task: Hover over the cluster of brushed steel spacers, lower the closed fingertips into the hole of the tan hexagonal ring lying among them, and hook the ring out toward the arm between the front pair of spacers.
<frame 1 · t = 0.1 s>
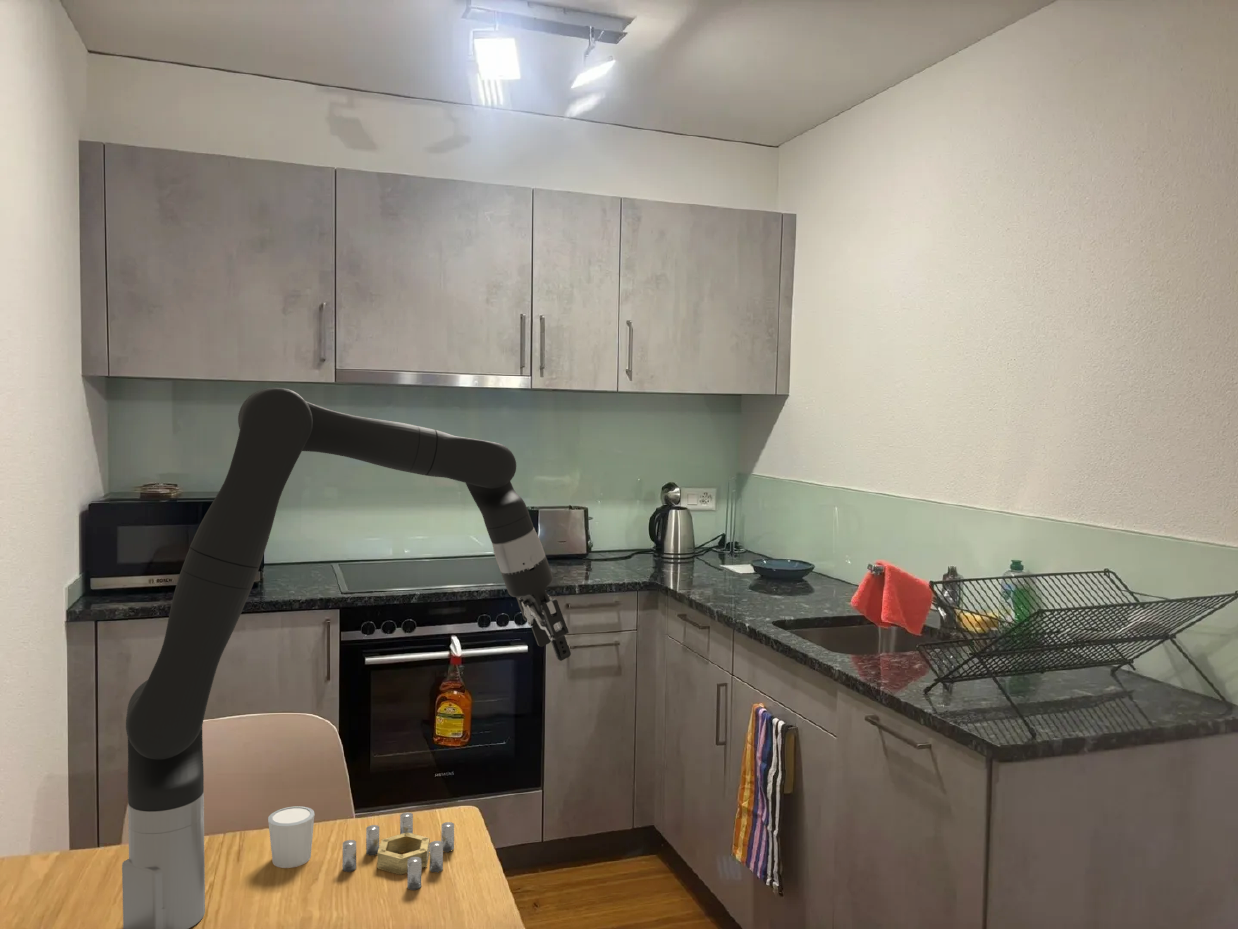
hand: (554, 651, 148), 31 cm above the table, tool tilted 20°, fingers open, 8 cm apart
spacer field: (403, 860, 142), on the table
tan hexagonal ring: (403, 860, 142), on the table
white cup: (291, 860, 142), on the table
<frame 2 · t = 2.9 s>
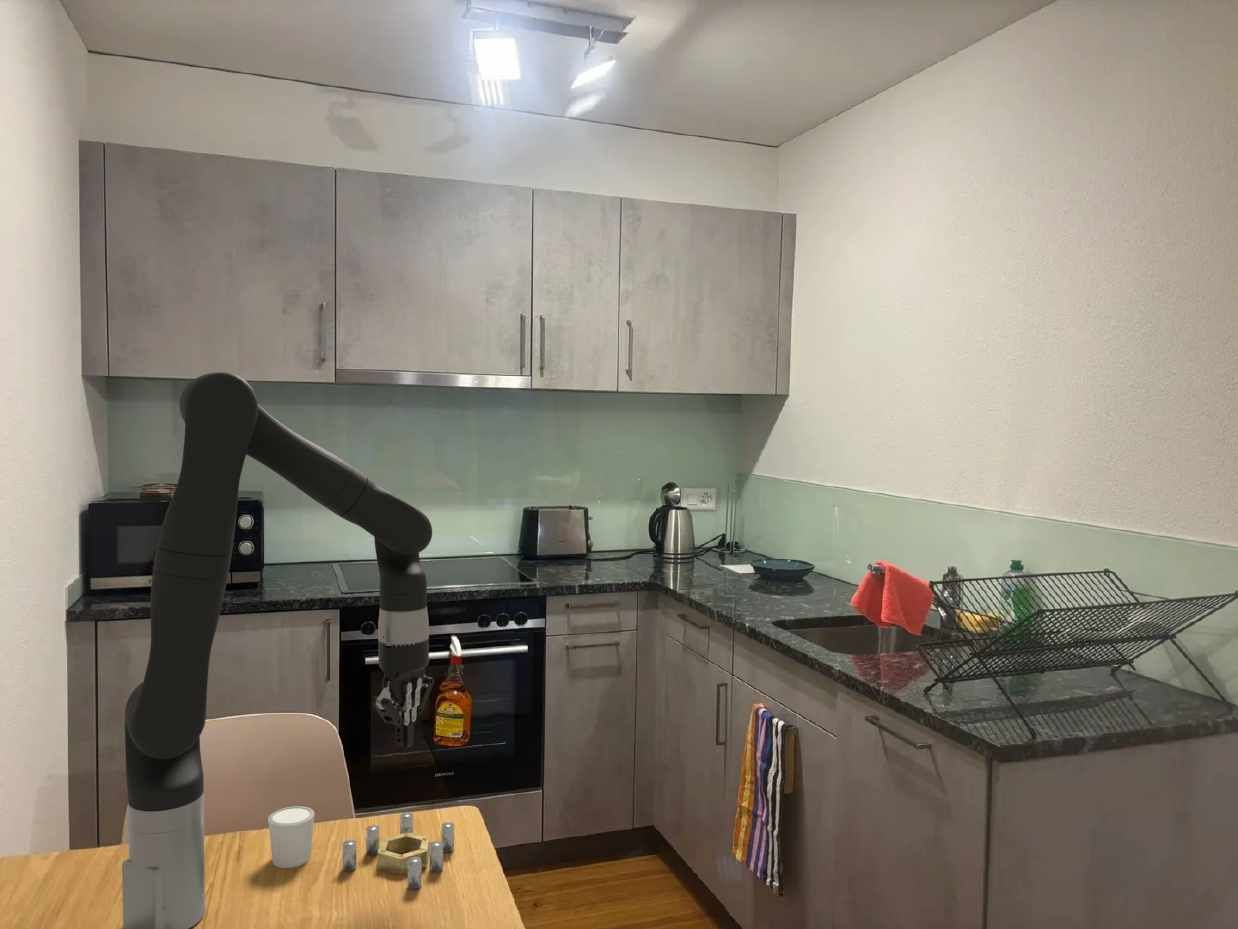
hand: (404, 746, 141), 18 cm above the table, tool pointing down, fingers closed
nothing on the table moved.
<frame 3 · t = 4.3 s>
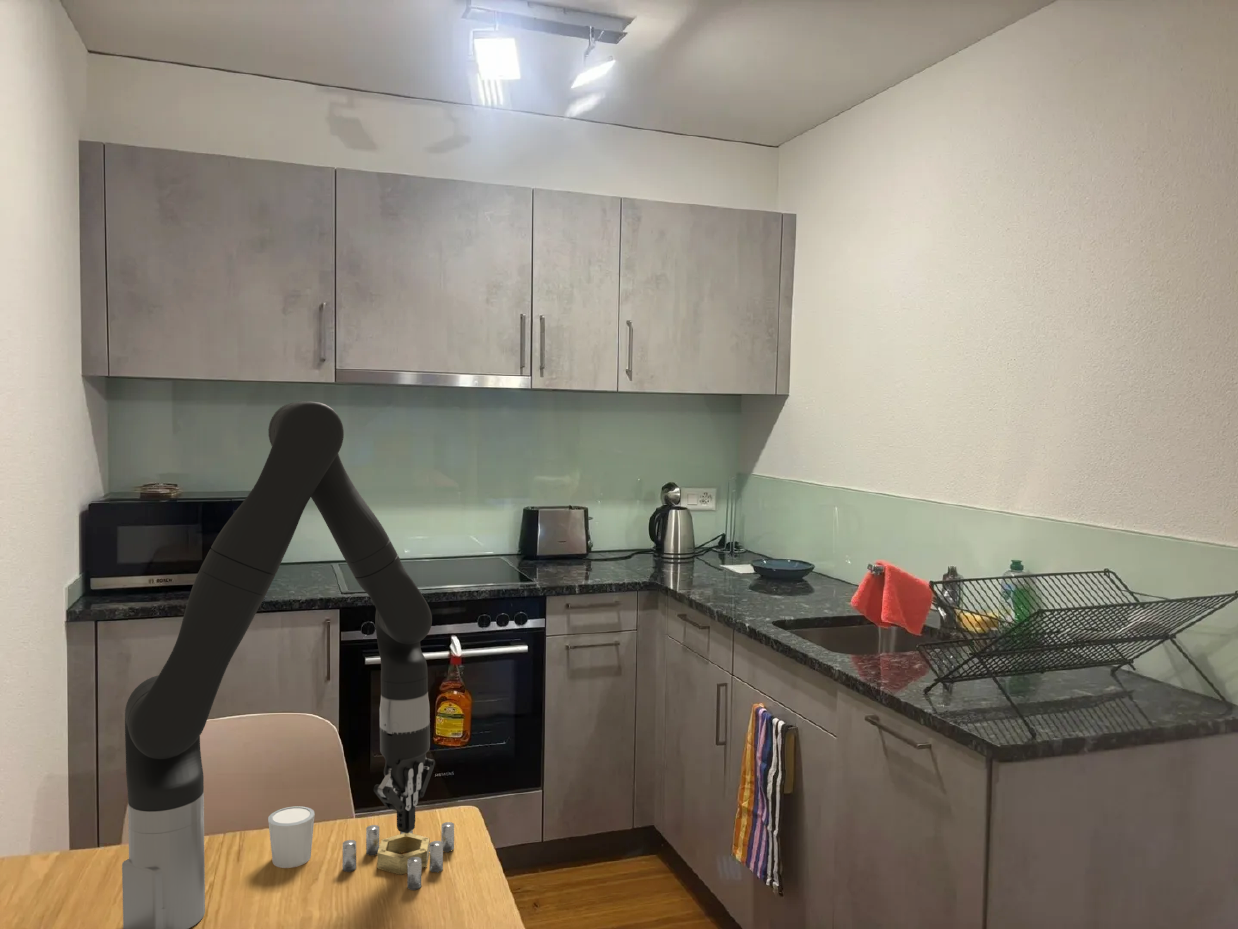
hand: (406, 830, 142), 5 cm above the table, tool pointing down, fingers closed
nothing on the table moved.
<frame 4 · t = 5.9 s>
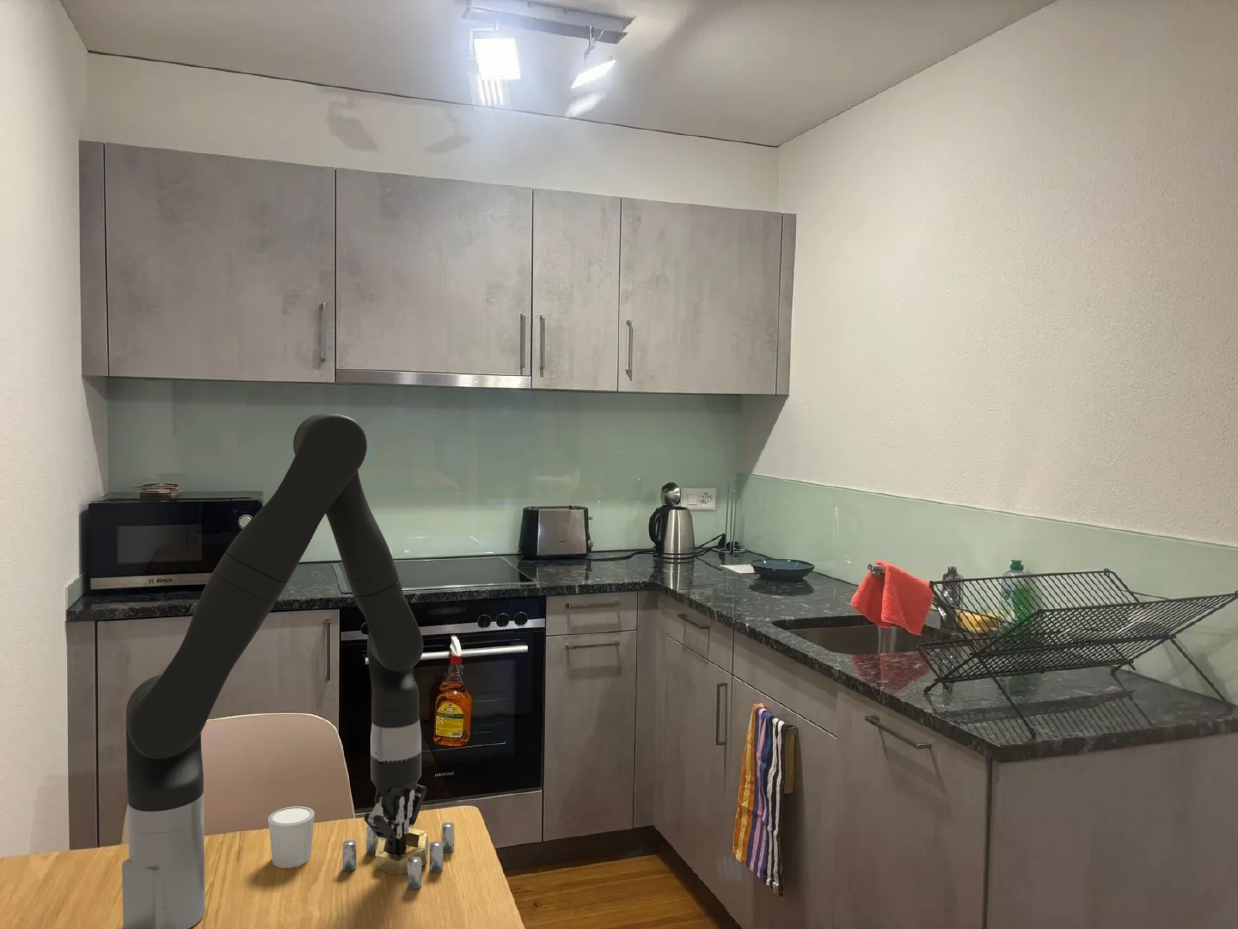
hand: (396, 858, 141), 1 cm above the table, tool pointing down, fingers closed
tan hexagonal ring: (403, 857, 142), point 1 cm above the table, tilted 11°, touching gripper
everything else where it was.
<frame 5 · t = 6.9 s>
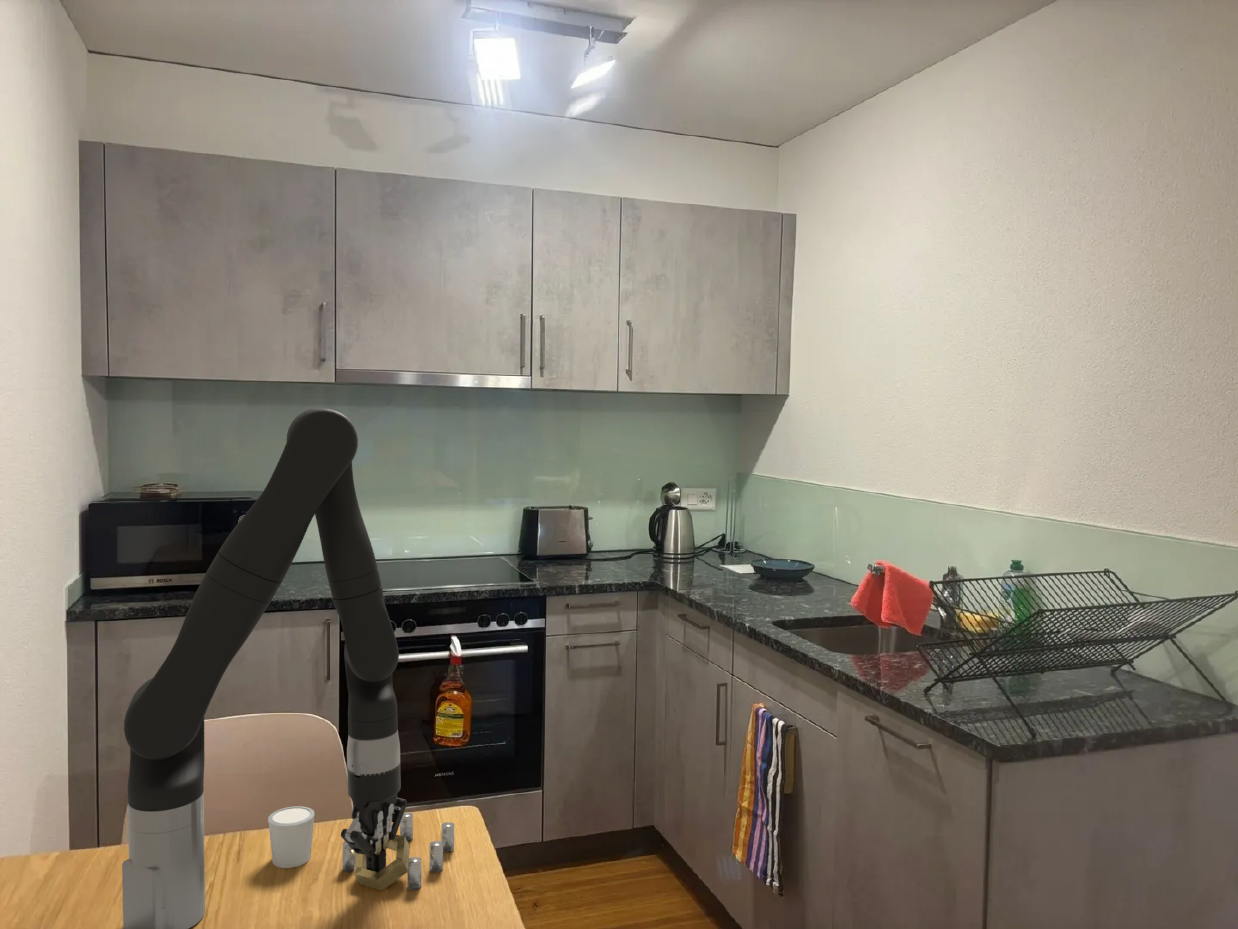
hand: (376, 875, 136), 1 cm above the table, tool pointing down, fingers closed
tan hexagonal ring: (384, 865, 137), point 2 cm above the table, tilted 30°, touching gripper
everything else where it was.
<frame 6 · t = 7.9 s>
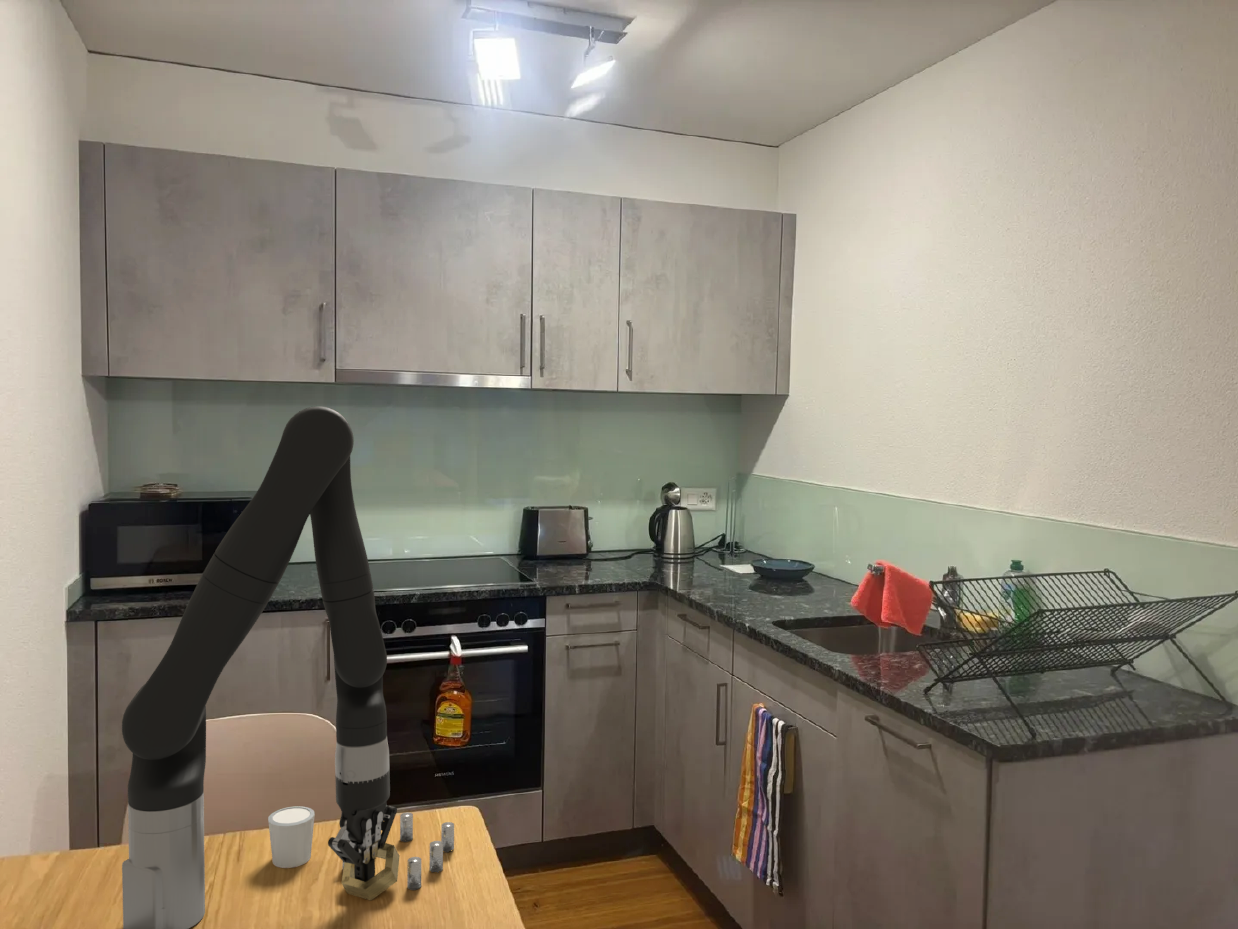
hand: (365, 884, 133), 1 cm above the table, tool pointing down, fingers closed
tan hexagonal ring: (373, 874, 134), point 2 cm above the table, tilted 30°, touching gripper
everything else where it was.
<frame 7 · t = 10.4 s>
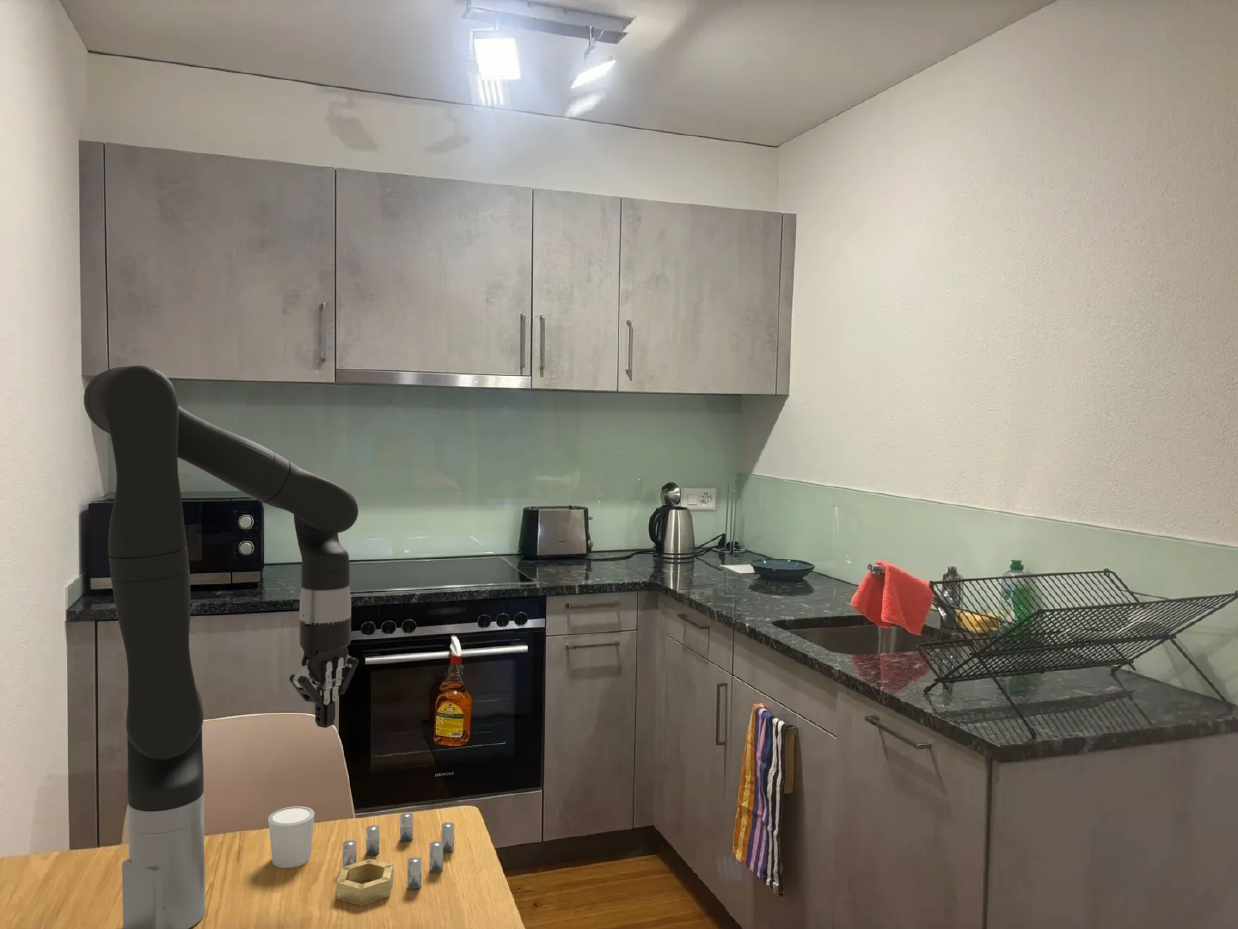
hand: (325, 725, 141), 21 cm above the table, tool pointing down, fingers closed
tan hexagonal ring: (365, 890, 133), on the table
everything else where it was.
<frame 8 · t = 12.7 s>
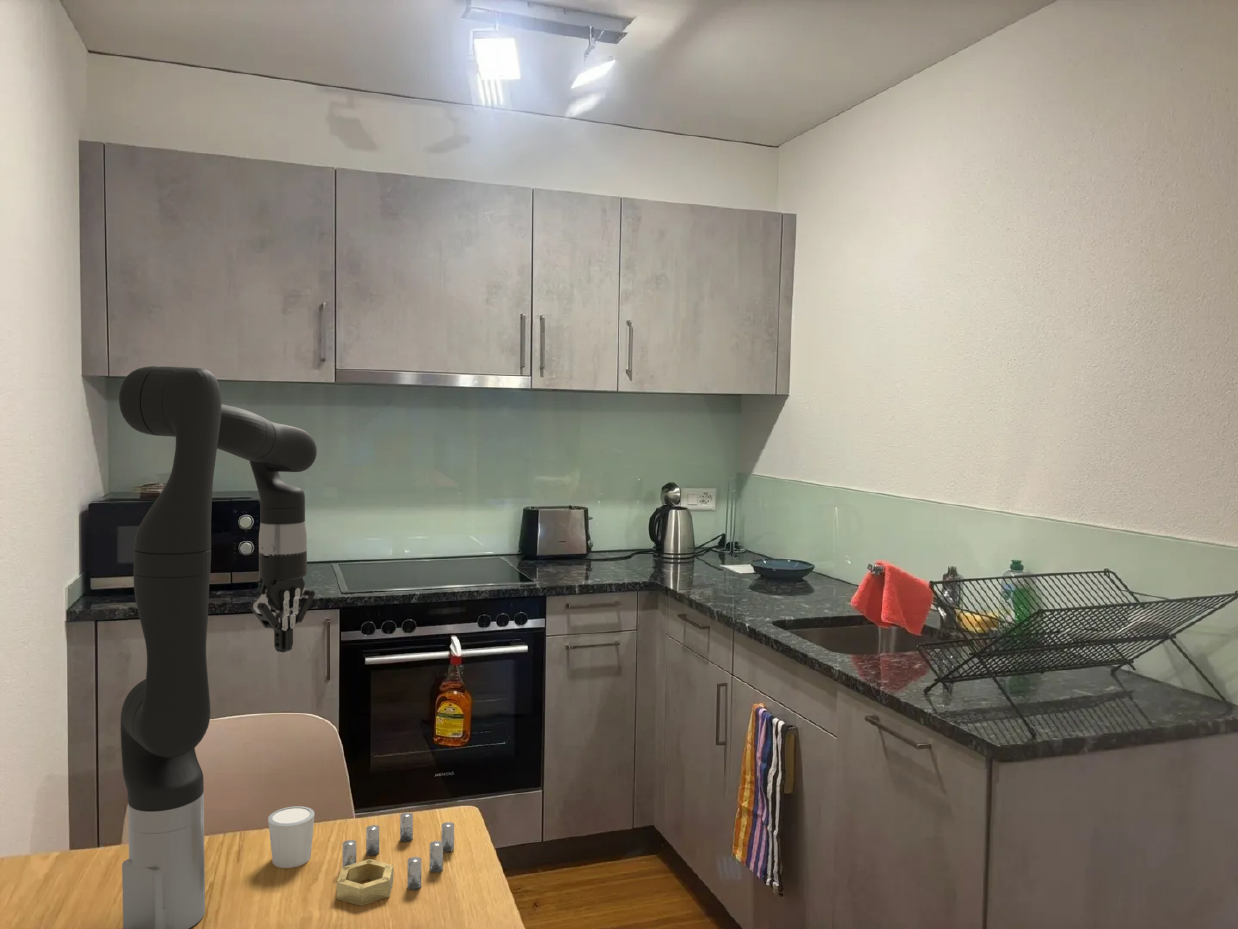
hand: (283, 650, 154), 29 cm above the table, tool pointing down, fingers closed
nothing on the table moved.
at the end: tan hexagonal ring inside the target area (2.1 cm from its centre), on the table; tan hexagonal ring tilted 0°; white cup moved 0.2 cm from its start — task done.
